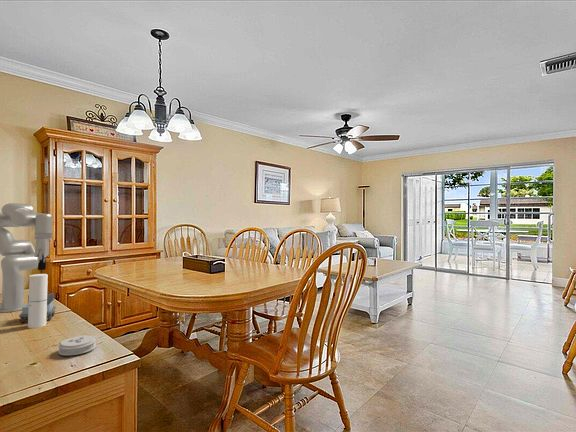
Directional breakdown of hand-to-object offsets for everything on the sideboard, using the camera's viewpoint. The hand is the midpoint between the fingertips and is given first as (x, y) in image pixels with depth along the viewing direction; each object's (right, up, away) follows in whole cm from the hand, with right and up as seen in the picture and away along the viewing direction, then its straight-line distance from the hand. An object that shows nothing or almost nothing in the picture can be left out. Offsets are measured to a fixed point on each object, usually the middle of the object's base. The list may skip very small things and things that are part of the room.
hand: (41, 269), depth 172 cm
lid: (+50, -25, -46) cm, 72 cm away
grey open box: (+3, -25, -6) cm, 26 cm away
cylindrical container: (+11, -25, -16) cm, 32 cm away
